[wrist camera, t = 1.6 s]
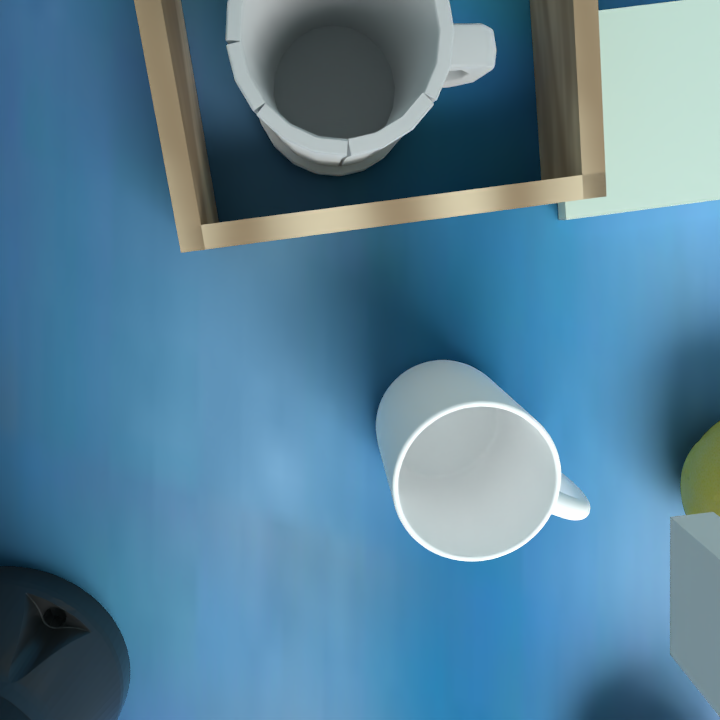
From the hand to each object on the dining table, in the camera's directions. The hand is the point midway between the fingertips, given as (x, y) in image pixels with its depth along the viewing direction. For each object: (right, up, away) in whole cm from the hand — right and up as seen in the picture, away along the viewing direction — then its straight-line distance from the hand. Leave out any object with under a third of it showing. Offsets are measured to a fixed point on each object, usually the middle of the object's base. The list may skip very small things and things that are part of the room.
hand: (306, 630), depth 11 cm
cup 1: (0, +20, +25) cm, 32 cm away
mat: (+18, +19, +26) cm, 37 cm away
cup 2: (+8, 0, +30) cm, 31 cm away
